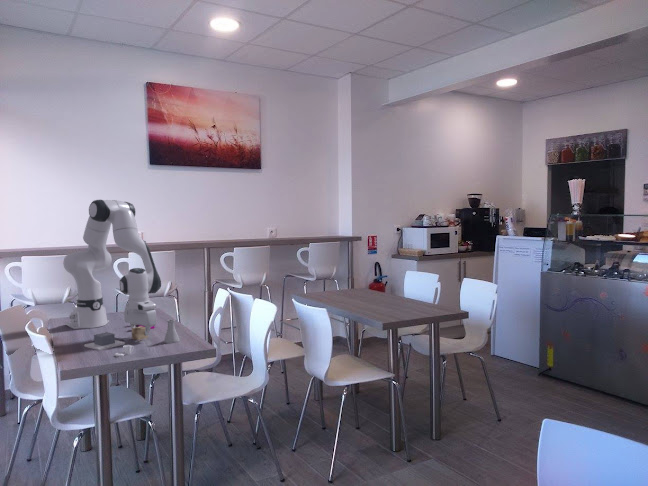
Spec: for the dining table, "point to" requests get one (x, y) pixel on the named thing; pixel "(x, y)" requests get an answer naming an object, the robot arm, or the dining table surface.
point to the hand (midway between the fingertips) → (140, 334)
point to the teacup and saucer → (125, 351)
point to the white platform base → (104, 341)
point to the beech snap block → (138, 333)
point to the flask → (171, 333)
